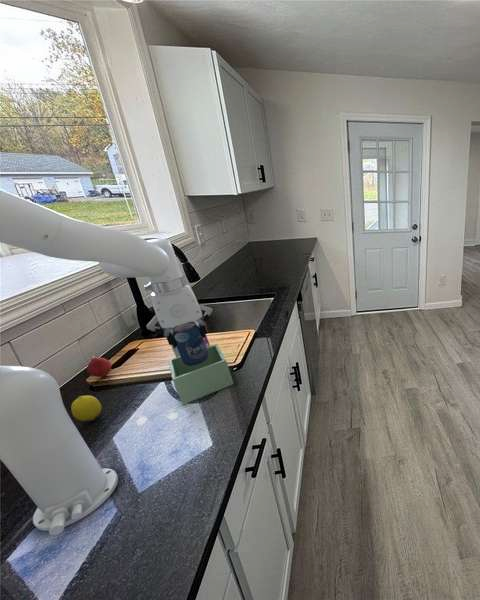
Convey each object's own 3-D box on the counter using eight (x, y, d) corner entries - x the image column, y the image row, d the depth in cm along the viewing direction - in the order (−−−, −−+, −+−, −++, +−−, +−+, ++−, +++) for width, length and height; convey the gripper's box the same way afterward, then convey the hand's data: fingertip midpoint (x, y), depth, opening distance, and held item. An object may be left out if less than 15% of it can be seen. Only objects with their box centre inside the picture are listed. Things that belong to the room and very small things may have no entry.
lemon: (90, 428, 83) (76, 404, 80) (74, 426, 84) (59, 402, 81) (111, 413, 88) (99, 390, 85) (96, 411, 89) (83, 389, 86)
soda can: (197, 368, 92) (184, 332, 87) (178, 366, 93) (164, 331, 88) (215, 355, 98) (203, 321, 93) (196, 353, 99) (184, 320, 95)
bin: (233, 384, 97) (225, 360, 94) (182, 404, 90) (172, 379, 86) (224, 365, 107) (216, 343, 104) (177, 383, 100) (168, 359, 96)
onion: (117, 374, 107) (107, 354, 104) (96, 383, 102) (85, 363, 99) (111, 369, 110) (101, 350, 107) (90, 378, 105) (79, 358, 102)
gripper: (128, 297, 78) (155, 357, 85) (206, 279, 88) (224, 335, 95) (128, 290, 84) (153, 347, 91) (202, 274, 93) (219, 327, 100)
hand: (189, 340), depth 93 cm, fingers closed on soda can, 7 cm apart
